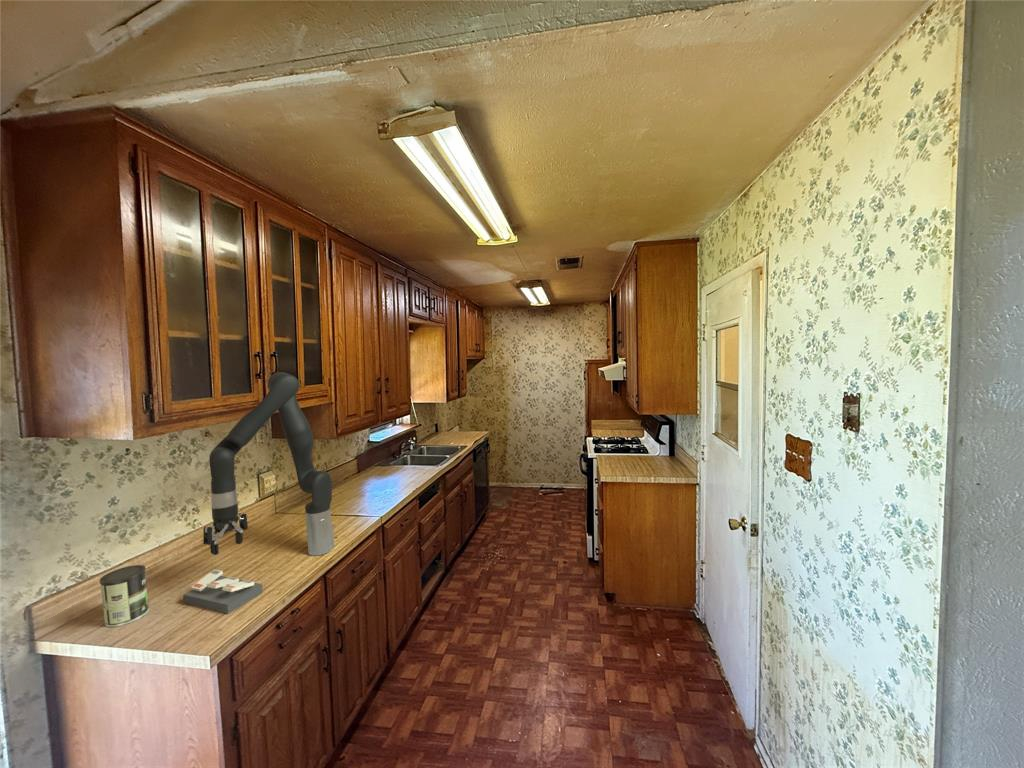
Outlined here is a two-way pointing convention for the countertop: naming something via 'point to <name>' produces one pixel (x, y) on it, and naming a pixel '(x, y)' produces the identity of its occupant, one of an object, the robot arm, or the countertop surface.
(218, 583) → the rocker
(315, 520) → the robot arm
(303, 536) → the countertop surface
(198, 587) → the rocker
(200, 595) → the rocker switch panel
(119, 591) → the coffee can
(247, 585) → the rocker
